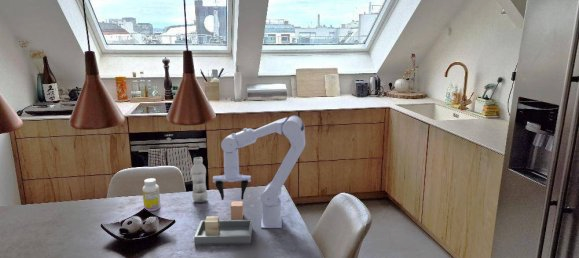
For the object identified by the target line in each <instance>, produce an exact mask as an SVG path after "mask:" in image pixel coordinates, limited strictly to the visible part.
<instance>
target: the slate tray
mask: <svg viewBox="0 0 579 258" xmlns="http://www.w3.org/2000/svg"><path fill="white" fill-rule="evenodd" d="M205 220H206V219H204V220H200V222H199V224H198V227H197V230H196V232H195V235H194V238H193V239H194V246H195V247H200V246H202V247H203V246H205V247H206V246H207V247H208V246H210V247H212V246H214V247H217V246H219V247H220V246H224V247H225V246H251V245H252V236H253V223H254V222H253V219H242V220H231V219H225V220H224V219H219V230H220V231H219V235H217V236H205Z"/></svg>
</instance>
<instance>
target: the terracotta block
mask: <svg viewBox="0 0 579 258" xmlns="http://www.w3.org/2000/svg"><path fill="white" fill-rule="evenodd" d="M230 220H244V201H241V200H239V201H238V200H237V201H236V200H235V201H231V205H230Z"/></svg>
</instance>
